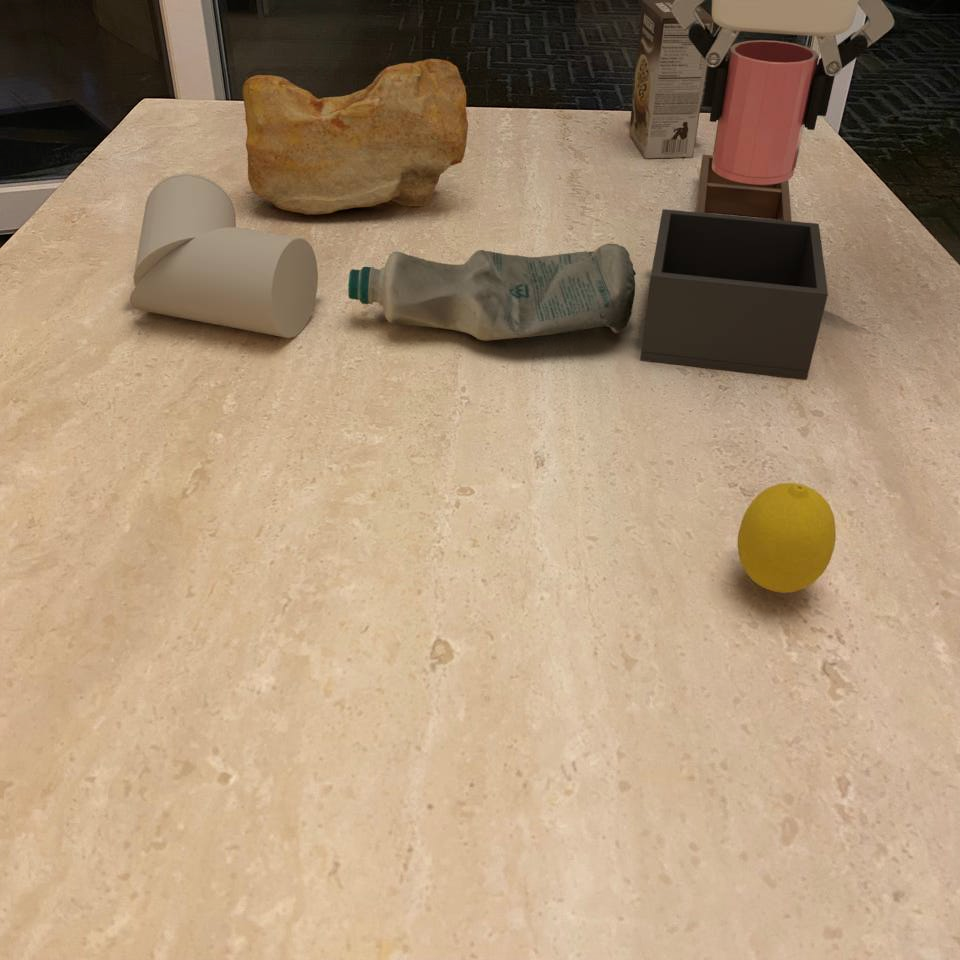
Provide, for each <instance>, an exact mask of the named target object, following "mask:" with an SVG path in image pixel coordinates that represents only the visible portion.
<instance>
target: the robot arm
mask: <svg viewBox="0 0 960 960" xmlns="http://www.w3.org/2000/svg"><path fill="white" fill-rule="evenodd" d="M704 2H706V0H675V1H674V2H673V5H672V9H671V12H672V14H673V16H674V17H675V18H676V20H677V21H678V23H679V24H680V26H681V27H682V28H683V30H684V31H685V32H686V34H687V35H688V36H689V39H690V41H691V42H692V43H693V45H694V46H695V47H696V49H697V50H698V51H699V52H700V54H701V55H702V56H703V58H704V59H705V61H706V64H707V71H706V77H705V84H704V91H703V98H702V107H705V108H710V115H709V122H711V123H717V121H718V120H719V118H720V111H721V105H722V99H723V93H724V86H725V80H726V74H727V62H728V60H727V54H728V53H729V49H730V47H731V46H733V45H734V42H735V41H736V40H737V37H738V36H739V34H740V33H741V32H747V33H748V32H749V33H760V34H761V33H762V34H775V35H776V34H777V35H791V36H809V37H816V39H817V44H818V48H819V52H820V56H821V57H819V58H818V63H817V67H816V72H815V76H814V81H813V85H812V90H811V95H810V100H809V105H808V109H807V114H806V119H805V124H804V129H806V130H807V131H808V130H809V131H815V129H816V124H817V120H818V117H826V116H827V113H828V109H829V104H830V99H831V95H832V90H833V87H834V81H835V77H836V76H837V75H839V74H840V73H841V71H842V69H844V68H845V67H846V66H848V65H849V64H850V63H852V61H854V60H856V58H858V57H859V56H860V55H862V54H863V53H865V51H867V49H868V48H869V47H870V46H871V45H872V44H874V43H876V42H877V41H879V39H880V38H882V37H883V36H884V35H886V33H888V32H889V31H890V30H891V29H892V28H893V27H894V25H895V19H894V17H893V14H892V13H891V11H890V10H889V9H888V7H887V6H886V5H885V3H884V2H883V1H882V0H711V16H712V18H713V21H714V22H713V23H715V24H716V25H717V26H718V28H717V30H716V31H715V33H714V35H713V32H712V33H711V32H710V31H709V29H708V28H707V27H706V25H705V24H704V23H703V22H702V21H701V20H700V18H699V17H698V15H697V13H696V11H695V9H696V8H697V6H701V5H702V4H703V3H704ZM858 6H859V8H860V9H861V10H862V11H863V13H864V14H865V16H866V17H867V20H866V22H865V23H864V24H863V25H862V26H861V27H860V28H859V29H858V30H857V31H854V32H853V33H850V35H849V36H847V37H846V38H845V39H843V40H842V41H841V42H839V43H838V42H837V38H836V37H837V36H838V35H841V34H843V33H845V32H847V31H849V30H850V28H851V27H852V25H853V23H854V20H855V16H856V13H857V9H858Z"/></svg>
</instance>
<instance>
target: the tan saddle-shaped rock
mask: <svg viewBox="0 0 960 960" xmlns="http://www.w3.org/2000/svg"><path fill="white" fill-rule="evenodd" d="M466 91H467V90H466V87H465V84H464V81H463V79H462V76H461V74H460V72H459V68H458V66H456V65H455V64H453V63H452V62H451V61H448V60H444V59H439V58H427V59H424V60H418V61H415V62H403V63H399V64H395V65H390V66H386V68H384V69H382V70H381V71H380V72H379V73H378V74H377V76H376V77H375V78H374V80H373V81H372V83H371V84H369V85H368V86H366V87H365V88H363V89H360V90H357V91H355V92H353V93H351V94H347V95H342V96H329V97H322V98H318V97H316V96H314V95H313V94H312V93H311V92H310V91H308V90H306V89H303V88H302V87H299V86H297V85H296V84H294V83H292V82H291V81H290V80H288V79H287V78H285V77H282V76H279V75H270V74H265V75H264V74H257V75H253V76H250V77H249V78H248V79H246V80H245V82H244V83H243V85H242V98H243V99H242V100H243V105H244V112H245V125H246V132H247V135H246V140H245V148H246V153H247V179H248V180H247V181H248V184H249V186H250V188H251V190H252V192H253V193H254V194H255V195H256V196H258V197H259V198H261V199H264V200H265V201H267V202H270V203H272V204H273V205H274V206H275V207H276V208H277V209H281V210H284V211H288V212H293V213H299V214H304V215H324V214H332V213H335V212H337V211H343V210H348V209H353V208H367V207H369V208H370V207H374V206H378V205H380V204H384V203H387V202H389V201H392V202H395V203H396V204H399V205H402V206H405V205H406V207H412V206H420V207H423V206H425V205H427V204H428V203H429V202H430V201H432V199H433V196H434V193H435V191H436V187H437V185H438V183H439V181H440V177H441V175H442V174H444V173H445V171H447V170H448V169H449V168H452V167H453V166H455V165H459V164H462V162H463V159H464V157H465V153H466V148H467V139H468V131H469V120H468V115H467V92H466Z"/></svg>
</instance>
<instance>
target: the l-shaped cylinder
mask: <svg viewBox="0 0 960 960" xmlns="http://www.w3.org/2000/svg"><path fill="white" fill-rule="evenodd" d="M143 212H144V213H143V217H142V224H141V230H140V235H139V236H140V237H139V242H138V248H137V255H136V262H135V267H134V273H133V284H134V287H133V290H132V292H131V294H130V298H129V302H130V306H131V307H132V308H133V309H135V310H137V311H141V312H147V313H153V314H158V315H164V316H168V317H174V318H180V319H185V320H190V321H194V322H195V321H196V322H200V323H208V324H212V325H216V326H222V327H227V328H233V329H238V330H243V331H249V332H254V333H259V334H265V335H271V336H276V337H280V338H286V339H287V338H288V339H292V338H294V337H297V336H298V335H299V334H300V333H301V332H302V331H303V330H304V328H305V327H306V326H307V324H308V322H309V320H310V318H311V315H312V313H313V310H314V307H315V304H316V298H317V293H318V283H319V282H318V281H319V272H318V271H319V270H318V263H317V258H316V254H315V250H314V249H313V247H312V244H310V243H309V241H308V240H306V239H305V238H302V237H299V236H292V235H285V234H280V233H279V234H278V233H274V232H267V231H260V230H253V229H248V228H241V227H237V220H236V219H237V218H236V211H235V206H234V203H233V201H232V199H231V197H230V196H229V194H228V193H227V192H226V191H225V189H224V188H222V186H220V184H218V183H217V182H216V181H214V180H212V179H210V178H208V177H206V176H204V175H200V174H196V173H186V172H185V173H178V174H173V175H169V176H167V177H165V178H163V179H162V180H160V181H159V182H158V183H157V184H156V185H155V186H154V187H153V188H152V189H151V191H150V192H149V194H148V195H147V198H146V202H145V207H144V211H143Z"/></svg>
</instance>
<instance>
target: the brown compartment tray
mask: <svg viewBox="0 0 960 960" xmlns="http://www.w3.org/2000/svg"><path fill="white" fill-rule="evenodd" d="M712 160H713V154H702V157H701V164H700V171H699V177H698V185H697V194H696V203H695V211H694V212H698V213H712V214H723V215H733V216H744V217H755V218H766V219H775V220H784V221H793V220H792V210H791V209H792V208H791V207H792V206H791V196H790V195H791V194H790V181H789V180H787V181H785V182H782V183H778V184H770V185H754V184H745V183H739V182H735V181H732V180H728V179H726V178H723V177H721V176H719V175H718V174H716V173H715V172H714V171H713V169H712Z"/></svg>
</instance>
